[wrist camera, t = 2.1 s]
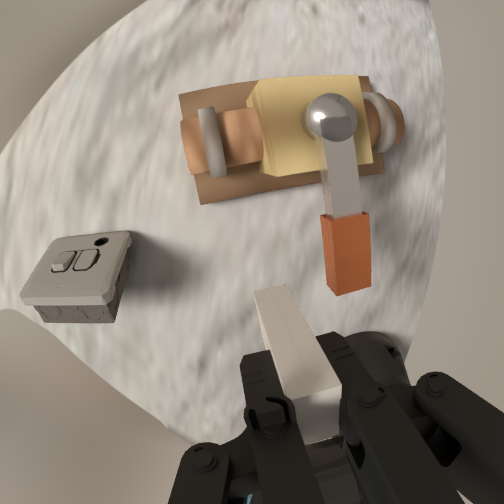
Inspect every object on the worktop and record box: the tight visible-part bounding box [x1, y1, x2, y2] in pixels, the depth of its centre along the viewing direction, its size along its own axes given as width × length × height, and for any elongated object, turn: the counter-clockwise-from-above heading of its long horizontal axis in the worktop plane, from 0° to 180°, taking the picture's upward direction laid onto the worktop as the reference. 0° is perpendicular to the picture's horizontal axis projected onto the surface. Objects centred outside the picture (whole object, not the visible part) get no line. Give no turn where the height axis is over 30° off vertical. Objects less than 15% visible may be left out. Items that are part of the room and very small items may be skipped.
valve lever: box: [301, 93, 371, 296], centre depth 17 cm, size 12×3×2 cm, turn 10°
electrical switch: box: [20, 231, 132, 323], centre depth 22 cm, size 9×5×9 cm, turn 92°
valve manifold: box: [179, 75, 404, 205], centre depth 21 cm, size 10×18×9 cm, turn 100°
